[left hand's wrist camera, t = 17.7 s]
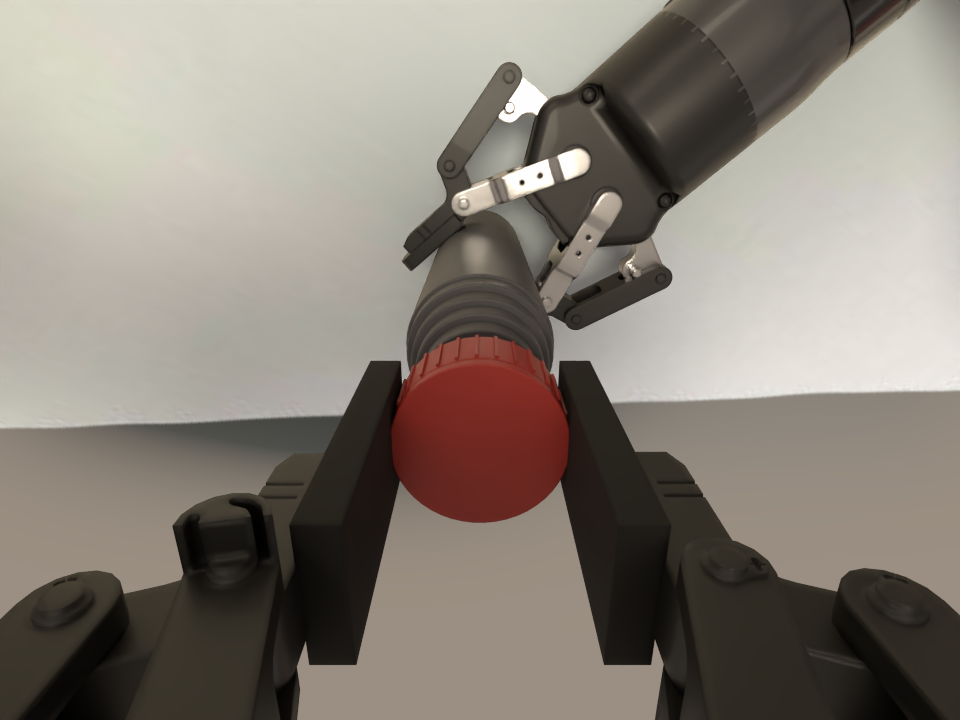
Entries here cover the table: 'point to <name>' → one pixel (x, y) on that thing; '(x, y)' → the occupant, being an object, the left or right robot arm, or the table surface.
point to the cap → (480, 430)
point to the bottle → (480, 293)
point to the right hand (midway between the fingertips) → (444, 302)
